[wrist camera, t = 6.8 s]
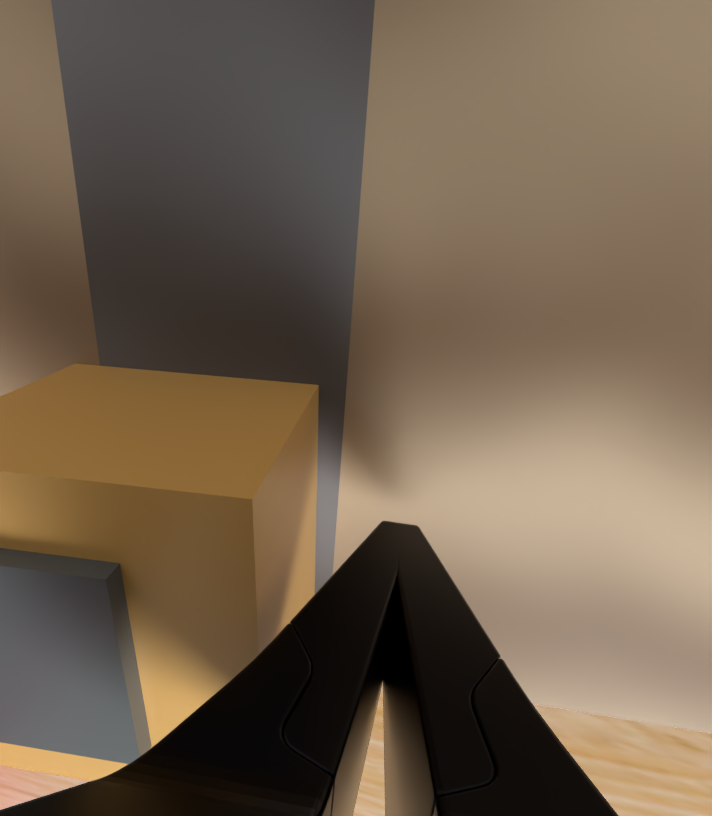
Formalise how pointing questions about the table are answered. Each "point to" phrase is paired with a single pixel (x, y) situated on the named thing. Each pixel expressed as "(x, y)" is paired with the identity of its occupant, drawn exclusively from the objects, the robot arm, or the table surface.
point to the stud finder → (143, 552)
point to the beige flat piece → (409, 282)
